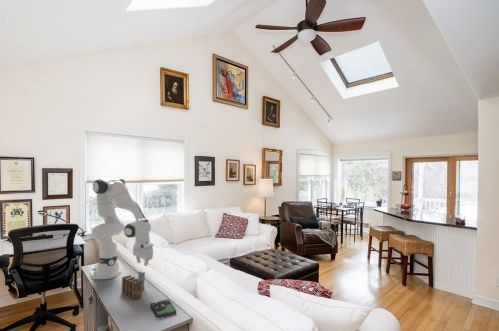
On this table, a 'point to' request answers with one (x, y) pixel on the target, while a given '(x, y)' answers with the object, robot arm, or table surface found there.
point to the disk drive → (163, 308)
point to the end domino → (141, 277)
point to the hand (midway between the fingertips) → (142, 264)
